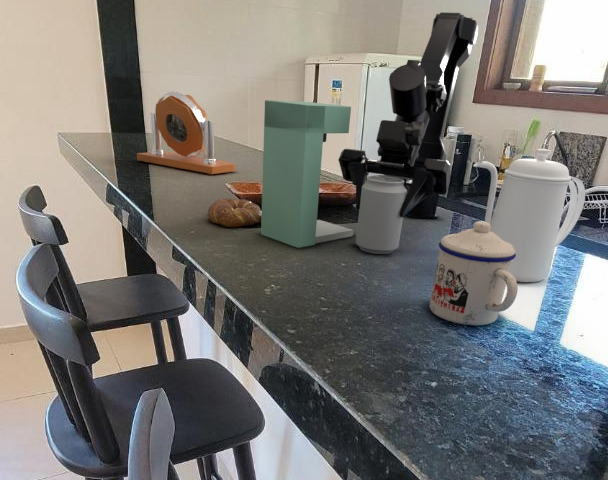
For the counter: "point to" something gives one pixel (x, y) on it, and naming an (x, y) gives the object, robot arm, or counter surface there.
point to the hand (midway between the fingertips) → (378, 212)
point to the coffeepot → (533, 211)
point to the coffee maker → (297, 170)
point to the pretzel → (234, 213)
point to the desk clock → (183, 136)
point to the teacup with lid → (473, 277)
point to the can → (380, 214)
